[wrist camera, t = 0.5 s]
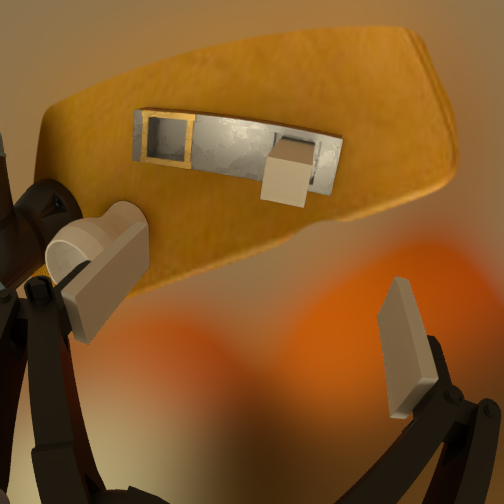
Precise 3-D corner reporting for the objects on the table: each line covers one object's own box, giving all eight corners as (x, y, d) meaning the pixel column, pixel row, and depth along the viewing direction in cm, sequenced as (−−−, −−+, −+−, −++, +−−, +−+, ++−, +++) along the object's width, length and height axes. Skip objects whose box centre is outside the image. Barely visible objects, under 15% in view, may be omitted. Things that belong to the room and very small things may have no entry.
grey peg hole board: (143, 155, 43) (131, 161, 40) (145, 107, 39) (133, 110, 36) (329, 188, 40) (330, 196, 37) (341, 135, 36) (343, 139, 34)
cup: (97, 190, 47) (34, 231, 34) (153, 194, 45) (93, 240, 33) (106, 248, 52) (54, 298, 40) (159, 256, 51) (111, 314, 38)
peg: (277, 166, 39) (260, 198, 29) (282, 136, 37) (266, 156, 27) (308, 173, 39) (303, 207, 29) (314, 142, 37) (312, 165, 27)
